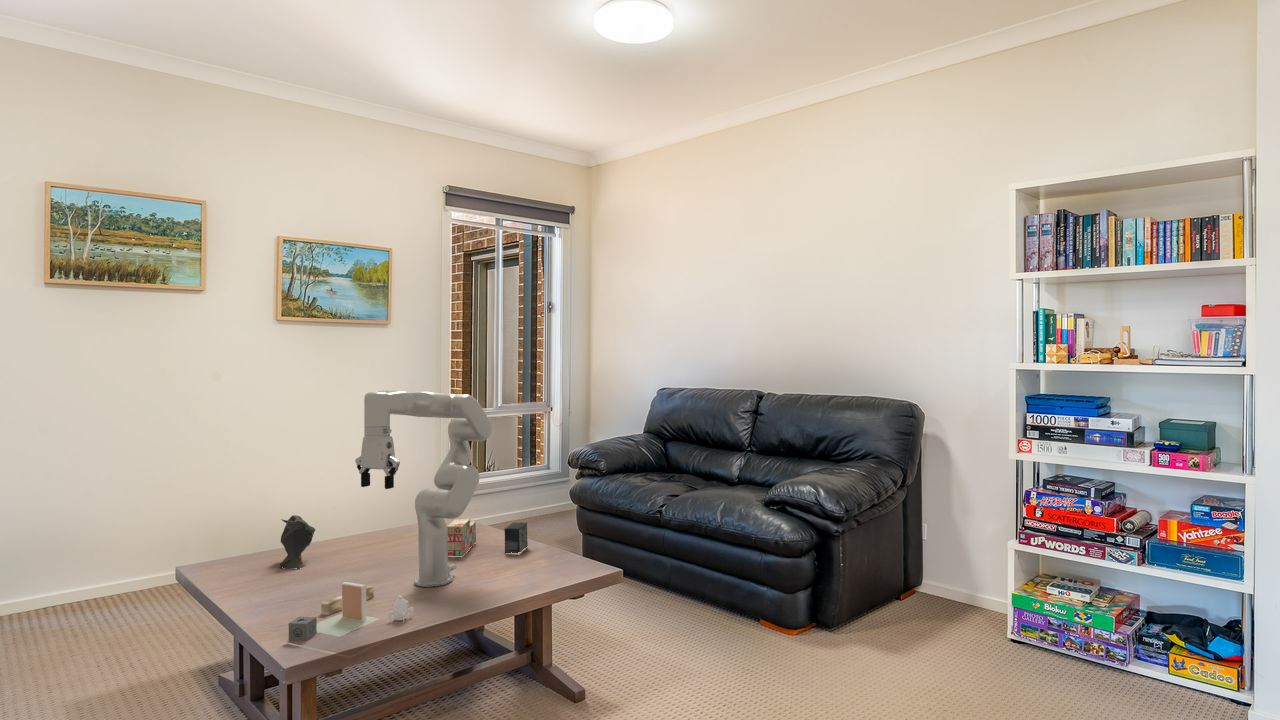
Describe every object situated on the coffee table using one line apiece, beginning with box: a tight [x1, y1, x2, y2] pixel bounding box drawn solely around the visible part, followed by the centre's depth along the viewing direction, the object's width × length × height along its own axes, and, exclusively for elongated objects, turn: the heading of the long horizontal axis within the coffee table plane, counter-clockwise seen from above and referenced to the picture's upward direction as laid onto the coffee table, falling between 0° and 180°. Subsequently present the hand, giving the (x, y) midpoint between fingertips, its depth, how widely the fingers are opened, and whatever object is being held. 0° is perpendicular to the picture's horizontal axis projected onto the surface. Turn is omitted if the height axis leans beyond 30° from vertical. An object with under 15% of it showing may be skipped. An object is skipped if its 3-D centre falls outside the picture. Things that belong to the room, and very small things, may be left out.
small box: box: [504, 522, 529, 554], centre depth 284 cm, size 11×6×10 cm, turn 172°
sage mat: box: [317, 612, 380, 638], centre depth 205 cm, size 15×14×1 cm
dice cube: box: [288, 616, 318, 642], centre depth 196 cm, size 5×5×5 cm
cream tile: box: [341, 581, 367, 622], centre depth 209 cm, size 2×8×10 cm, turn 65°
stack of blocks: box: [447, 518, 477, 556], centre depth 287 cm, size 21×6×12 cm, turn 179°
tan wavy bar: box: [320, 585, 375, 616], centre depth 221 cm, size 18×2×4 cm, turn 155°
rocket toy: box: [386, 593, 414, 623], centre depth 208 cm, size 5×5×8 cm
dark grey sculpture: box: [279, 514, 316, 570], centre depth 271 cm, size 14×15×18 cm
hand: (377, 487), depth 224 cm, fingers open, 9 cm apart
